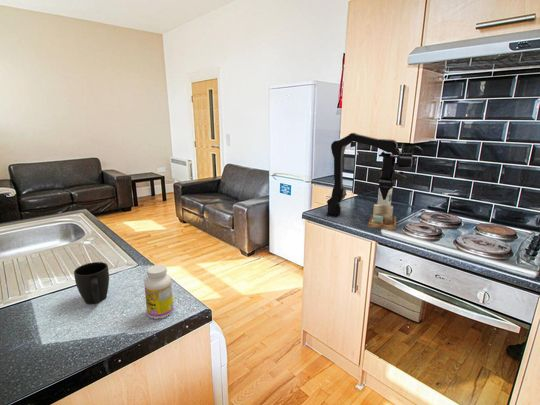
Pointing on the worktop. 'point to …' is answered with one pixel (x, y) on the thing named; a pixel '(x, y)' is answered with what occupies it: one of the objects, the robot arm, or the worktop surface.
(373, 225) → the rack
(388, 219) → the small walnut offcut
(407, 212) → the worktop surface
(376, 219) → the teal offcut
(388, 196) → the syrup box
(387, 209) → the birch board
